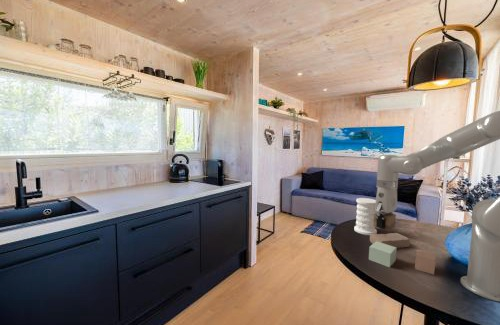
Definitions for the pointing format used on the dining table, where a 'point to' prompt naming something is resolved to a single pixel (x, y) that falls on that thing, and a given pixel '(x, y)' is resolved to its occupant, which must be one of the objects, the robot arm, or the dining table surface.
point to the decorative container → (365, 216)
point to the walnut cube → (389, 221)
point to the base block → (382, 253)
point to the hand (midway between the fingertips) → (384, 225)
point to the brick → (390, 239)
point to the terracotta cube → (425, 261)
